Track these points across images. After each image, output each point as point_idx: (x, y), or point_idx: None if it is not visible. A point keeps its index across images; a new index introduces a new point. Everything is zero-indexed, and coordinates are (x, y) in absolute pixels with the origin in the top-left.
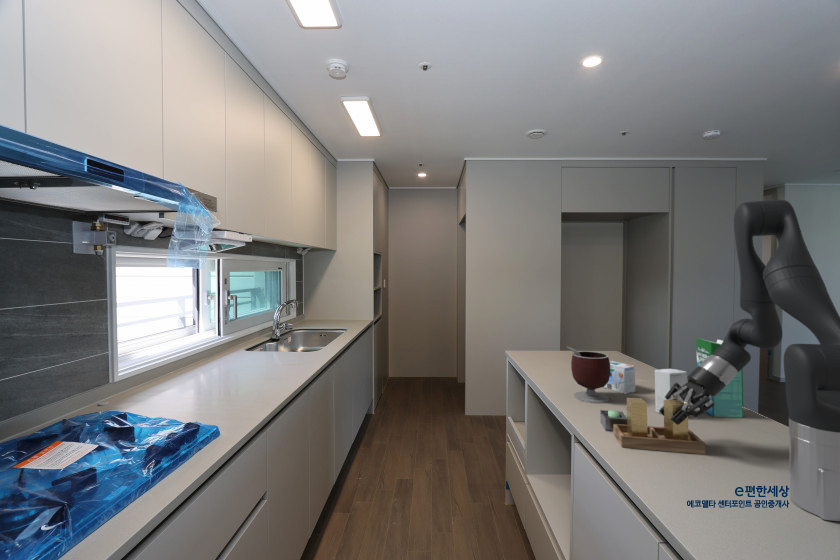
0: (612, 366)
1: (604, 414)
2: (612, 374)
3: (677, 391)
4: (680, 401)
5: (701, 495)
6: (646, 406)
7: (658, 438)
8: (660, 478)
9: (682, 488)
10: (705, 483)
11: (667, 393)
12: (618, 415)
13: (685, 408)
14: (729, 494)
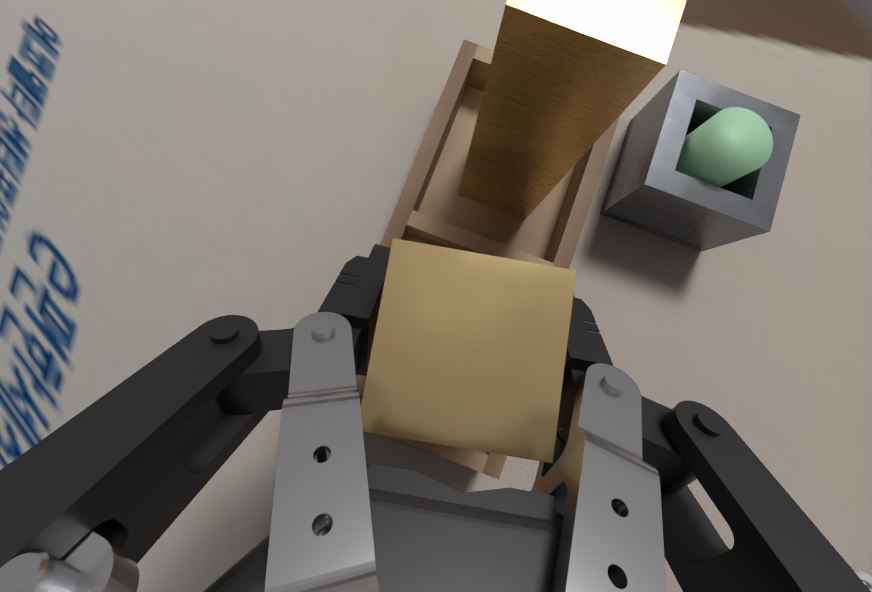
0: None
1: (730, 96)
2: None
3: (658, 556)
4: (493, 447)
5: (69, 108)
6: (499, 38)
7: (412, 203)
8: (201, 55)
9: (124, 79)
10: (130, 188)
11: (770, 477)
12: (699, 155)
13: (294, 331)
14: (46, 211)
